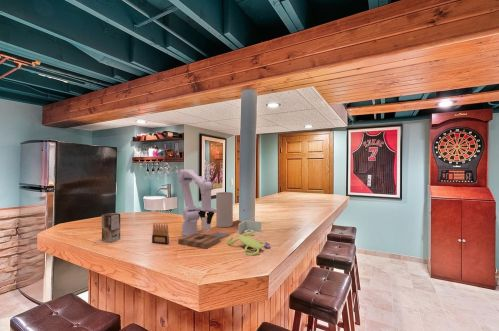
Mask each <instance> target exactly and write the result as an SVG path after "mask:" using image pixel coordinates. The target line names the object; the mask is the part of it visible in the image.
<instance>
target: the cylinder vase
mask: <svg viewBox="0 0 499 331" xmlns="http://www.w3.org/2000/svg"><path fill="white" fill-rule="evenodd" d="M233 194H234V193H233V192H228V191H227V192H226V191H222V192H220V191H219V192H216V194H215V196H216V203H215V204H216V206H215V207H216V208H215V209H217V213H215V214H216V217H215V219H216V220H215V222H216V223H215V225H216V227H218V228H230V227H232V226H233V225H234V220H233V219H234V217H233V216H234V213H233V211H234V210H233V208H234V207H233V205H234V203H233V201H234V200H233V199H234V198H233V197H234V196H233Z"/></svg>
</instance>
